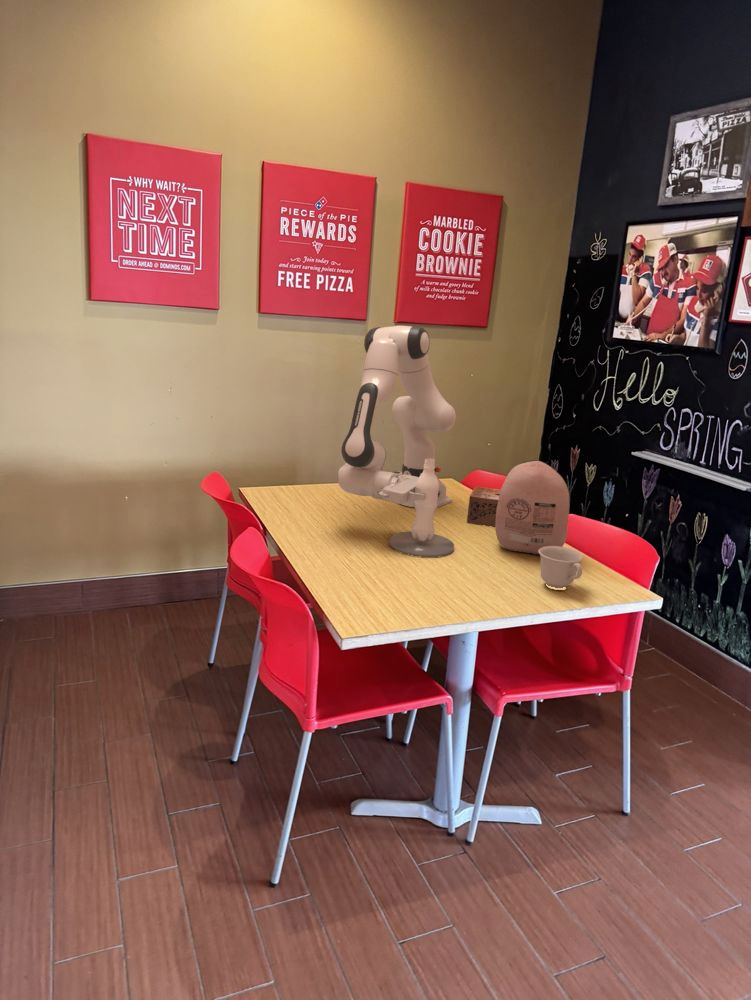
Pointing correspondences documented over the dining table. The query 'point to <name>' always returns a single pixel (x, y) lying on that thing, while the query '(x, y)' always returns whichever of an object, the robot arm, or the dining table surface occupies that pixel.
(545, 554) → the teacup
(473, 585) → the dining table surface
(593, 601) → the dining table surface
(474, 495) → the tissue box cover
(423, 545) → the plate
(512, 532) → the packaged food
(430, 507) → the water bottle
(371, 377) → the robot arm
